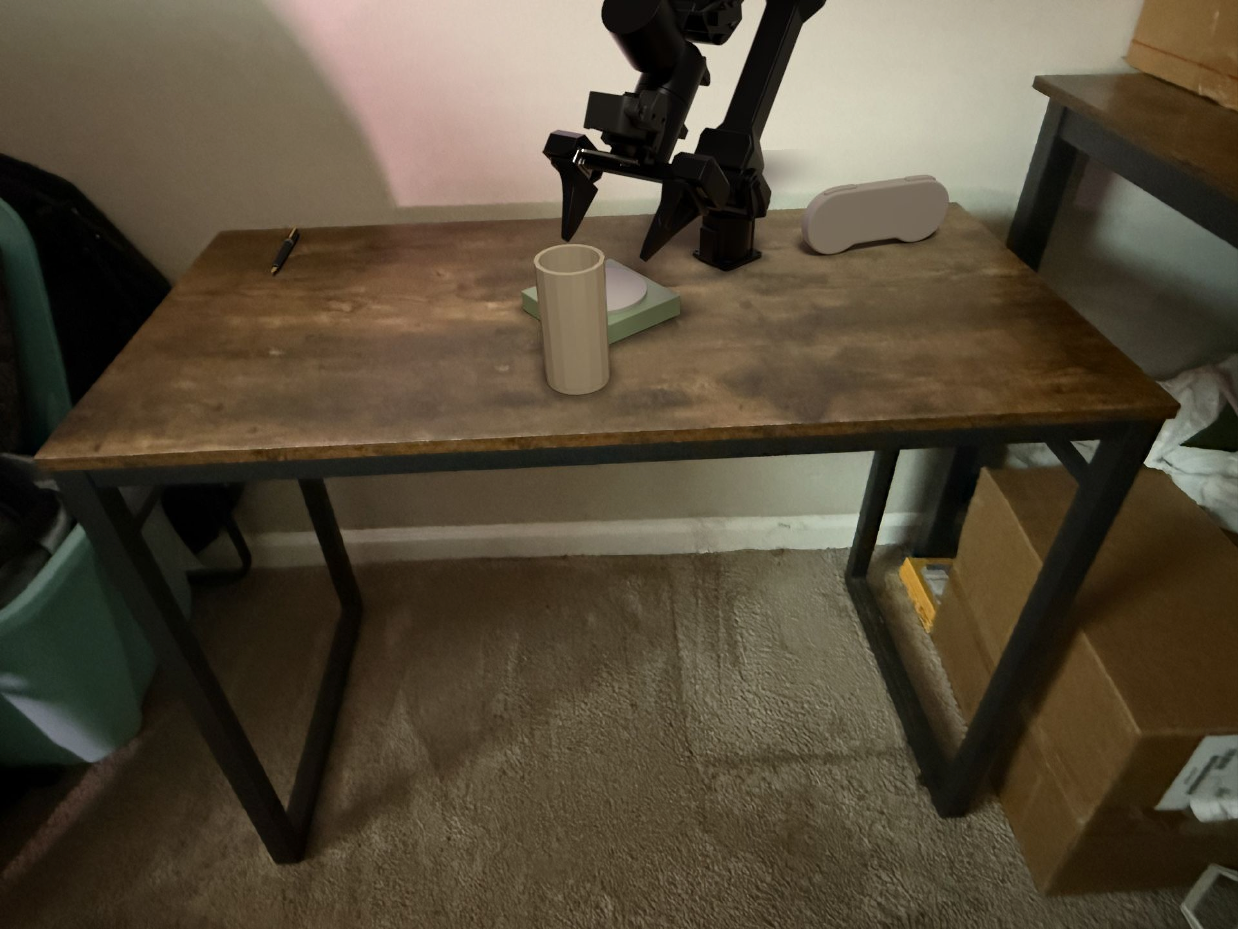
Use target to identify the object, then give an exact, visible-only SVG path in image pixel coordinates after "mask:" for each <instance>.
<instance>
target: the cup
mask: <svg viewBox="0 0 1238 929" xmlns="http://www.w3.org/2000/svg"><path fill="white" fill-rule="evenodd" d="M605 260H606V256H605V254H604V253H603V251H602V250H601V249H598V248H597V247H595V246H591V245H588V244H583V243H565V244H558V245H554V246H551V247H548V248H545V249H543V250H541V251H540V252H538V253H537V254H536V255H535V257H534V259H533V270H534V271H533V272H534V279H535V286H536V290H537V299H538V308H539V318H540V320H539V327H540V333H541V343H542V353H543V362H544V363H543V364H544V370H545V371H544V373H545V378H546V382H547V385H548V386H549V387H550V388H551V389H552V390H553V391H556V392H557V393H561V394H564V395H569V396H581V395H587V394H591V393H595V392H598V391H599V390H601V389H603V388H604V387H605V386H606V385H607V384H608V383H609V381H610V378H611V356H610V354H611V353H610V344H609V332H608V311H607V290H606V270H605Z"/></svg>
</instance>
